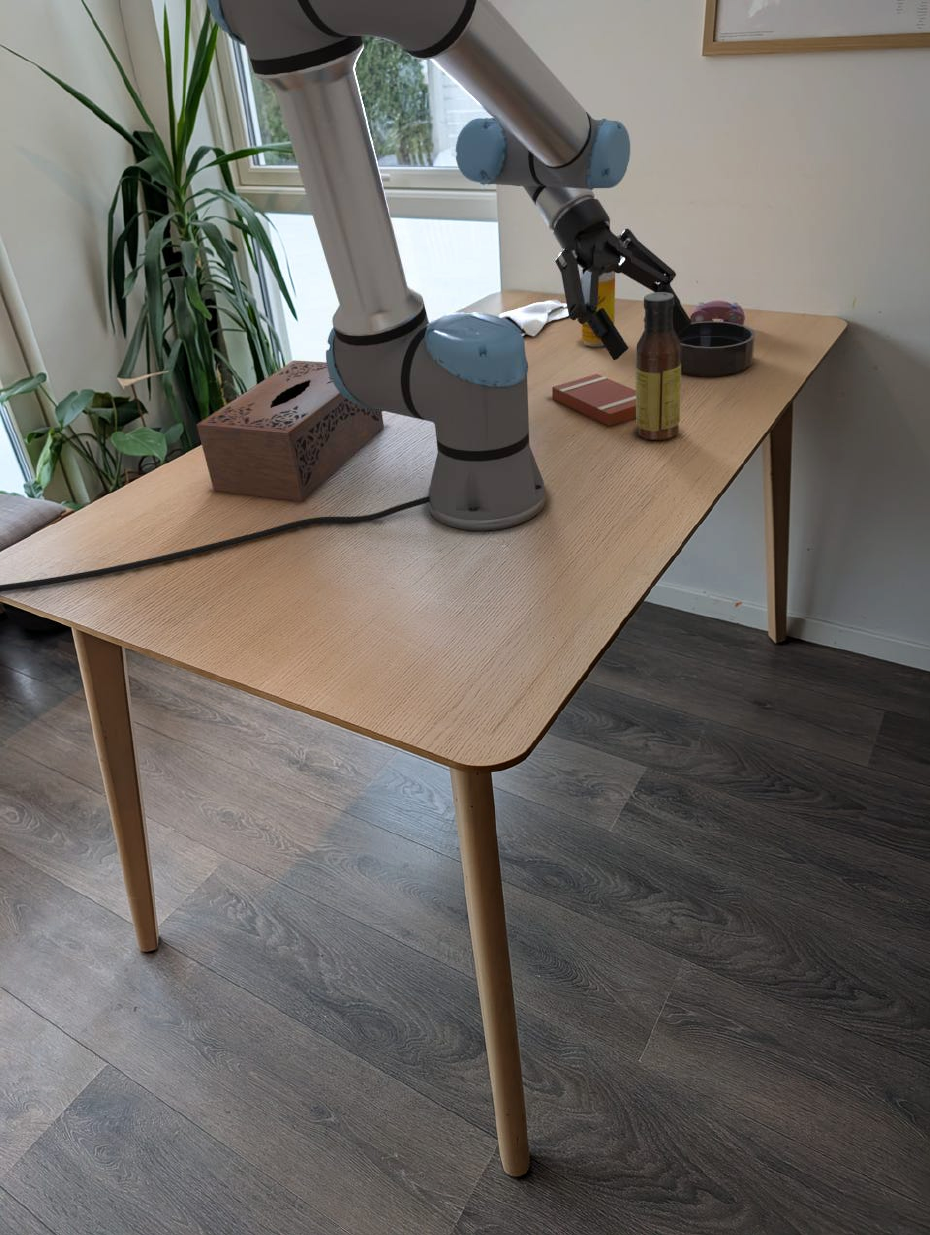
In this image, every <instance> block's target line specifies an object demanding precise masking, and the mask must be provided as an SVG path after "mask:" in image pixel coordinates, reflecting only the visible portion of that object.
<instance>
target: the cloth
mask: <svg viewBox="0 0 930 1235" xmlns="http://www.w3.org/2000/svg"><path fill="white" fill-rule="evenodd" d="M497 317H500V318H503V319H505V320H507V321H509V322H511V323H512V324H514V325H515V326H516V327H517V328H518V329H519V331H520V332H521V334H522V337H523V338H524V336H526V335H528V336H530V337H533V338H535V336H537V334H538V333H540V332H541V330H542V329H543V328H544V326H545V325H546V324H548V323H551V322H552V321H557V320H558V321H559V320H561V319H565V318H567V317H569V314H568V308H567V303H566V302H561V301H560V300H558V299H548V300H545V301H542V302H534V303H531V304H528V305H525V306H523V307H519V308H517V309H513V310H508V311H504V312H502V313H499V315H497Z"/></svg>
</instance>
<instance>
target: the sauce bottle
mask: <svg viewBox="0 0 930 1235" xmlns="http://www.w3.org/2000/svg"><path fill="white" fill-rule="evenodd" d="M674 304H675V303H674V295H673V294H671V293H666V292H656V293H655V292H651V293H648V294H645V295H644V296H643V309H644V317H645V323H644V326H643V327H644V328H643V329H644V330H643V332H642V334H641V335H640V338H639V340H638V341H637V343H636V361H635V362H636V363H635V390H636V418H635V424H636V432H637V434H638V435H639V437H641V438H643V439H645V440H654V441H666V440H669V439H673V438H674V437H675V436H676V435H678V434H679V429H680V426H679V425H680V421H681V392H682V391H681V387H682V385H681V384H682V373H681V361H680V351H681V343H680V340H679V339H678V337H677V335H676V333H675V331H674V328H673V322H672V320H673V317H672V316H673V306H674Z"/></svg>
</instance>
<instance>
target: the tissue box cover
mask: <svg viewBox="0 0 930 1235" xmlns="http://www.w3.org/2000/svg"><path fill="white" fill-rule="evenodd" d="M196 428H197V431H198V436H199V440H200V443H201V446H202V450H203V455H204V459H205V462H206V466H207V469H208V470H207V471H208V473H209V478H210V482H211V485H212V489H213V492H220V493H228V494H237V495H244V496H254V497H261V498H267V499H268V498H269V499H277V500H287V501H294V502H301V503H302V502H303V501H305V500H306V499H307V498H308V497H309V496H310V495H311V494H312V493H313V492H314V491H315V490H316V489H318V488H319V487H320V486H322V484H323V483H324V482H325V481H327V480H328V479H329V478H331V476H332V475H333V474H334V473H336V472H337V471H338V470H339V469H340V468H341V467H342V466H343V465H344V464H345V463H346V462H347V461H348V460H350V459H351V458H352V457H353V456H354V455H355V454H356V453H358V452H359V450H361V449H362V448H363V447H364V446H365V445H367V444H368V443H369V442H370V440H372V439H373V438H374V437H375V436H376V435H378V433H379V432H381V431H382V430H383V429H384V428H385V425H384V417H383V411H374V410H373V409H368V408H365V407H363V406H361V405H358V404H356V403H353V402H351V401H349V400H348V399H346V398H345V397H344V396H343V395H342V394H341V393H340V392H339V391H338V390H337V388H336V387H335V385H334V384H333V382H332V380H331V378H330V375H329V372H328V368H327V362H326V361H313V360H312V361H310V360H309V361H308V360H291V361H290V362H289V363H286V364H285V365H284V366H283V367H281V368H280V369H278V370H276V371H275V372H274V373H272V374H270V375H269V376H268V377H266V378H264V379H263V380H262V381H260V382H259V383H257V384H255V385H254V386H252V387H251V388H249V389H248V390H246V391H245V392H244V393H241V394H240V395H239V396H237V397H236V398H234V399H233V400H230V402H228V403H227V404H225V405H224V406H222V407H220V408H219V409H218V410H216V411H215V412H213V413H212V414H210V415H209V416H207V417H206V418H204V419H202V420H201V421H199V422H198V423H196Z"/></svg>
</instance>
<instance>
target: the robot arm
mask: <svg viewBox="0 0 930 1235" xmlns="http://www.w3.org/2000/svg"><path fill="white" fill-rule="evenodd" d="M206 5H207V7H208V9H209V12H210V14H211V16H212V17H213V19H214V21H215V23H216V24H217V26H218V27H219V28H220V29H221V31H223V32H225V33H226V34H227V35H228V37H229V38H230V39H231V40H233V41H235V42H237V43H239V45H242V46H244V47H245V49H246V52H247V55H248V58H249V61H250V65H251V67H252V70H253V74H254V77H256V78H257V79H259V80H261V81H262V82H264V83H266V84H267V85H268V86H270V87H271V88H272V89H273V90H274V93H275V96H276V99H277V103H278V105H279V106H278V107H279V109H280V112H281V115H282V118H283V123H284V125H285V128H286V132H287V135H288V138H289V142H290V145H291V148H292V152H293V156H294V158H295V161H296V165H297V169H298V172H299V175H300V179H301V182H302V185H303V188H304V191H305V192H304V193H305V195H306V198H307V202H308V205H309V208H310V211H311V215H312V218H313V222H314V225H315V228H316V232H317V235H318V238H319V242H320V244H321V248H322V251H323V254H324V258H325V262H326V265H327V267H328V271H329V274H330V278H331V281H332V285H333V287H334V291H335V294H336V297H337V301H338V307H337V309H336V311H335V312H334V314H333V316H332V320H331V321H332V328H331V330H330V332H329V335H328V338H327V344H328V345H329V348H328V349H327V350H325V362H327V368H328V372H329V375H330V378H331V380H332V382H333V384H334V385H335V387H336V388H337V390H338V391H339V392H340V393H341V394H342V395H343V396H344V397H345V398H346V399H348V400H349V401H351V402H353V403H356V404H358V405H361V406H363V407H365V408H368V409H373V410H374V411H382V412H387V413H391V414H395V415H399V416H404V417H409V418H413V419H417V420H422V421H426V422H430V423H433V424H434V429H435V438H436V448H437V453H436V458H435V461H434V467H433V469H432V470H433V471H432V475H431V479H430V484H429V487H428V494H427V495H426V496H424V497H420V498H416V499H414V500H411V501H407V502H404V503H401V504H398V505H395V506H392V507H389V508H386V509H384V510H381V511H378V512H375V513H370V514H363V515H355V516H318V517H312V518H305V519H301V520H296V521H292V522H288V523H284V524H282V525H278V526H274V527H271V528H267V529H263V530H259V531H256V532H252V533H248V534H244V535H241V536H237V537H233V538H229V539H224V540H221V541H217V542H213V543H209V544H204V545H201V546H197V547H193V548H188V549H185V550H180V551H176V552H171V553H166V554H164V555H159V556H155V557H151V558H146V559H142V560H136V561H132V562H127V563H122V564H119V565H113V566H109V567H103V568H99V569H94V570H88V571H83V572H77V573H70V574H66V575H60V576H53V577H47V578H40V579H34V580H28V581H19V582H13V583H5V584H0V593H3V592H10V591H16V590H25V589H32V588H38V587H45V586H51V585H57V584H63V583H68V582H69V583H70V582H74V581H75V582H76V581H81V580H85V579H91V578H97V577H101V576H107V575H111V574H117V573H120V572H121V573H122V572H125V571H131V570H134V569H139V568H144V567H149V566H153V565H157V564H162V563H166V562H170V561H173V560H174V561H175V560H178V559H183V558H186V557H190V556H195V555H199V554H202V553H206V552H211V551H214V550H219V549H222V548H223V549H224V548H227V547H231V546H234V545H238V544H242V543H247V542H250V541H254V540H257V539H261V538H266V537H269V536H272V535H276V534H279V533H283V532H286V531H289V530H293V529H298V528H302V527H306V526H307V527H308V526H313V525H318V524H319V525H320V524H321V525H322V524H357V523H366V522H371V521H372V522H373V521H376V520H379V519H382V518H385V517H388V516H391V515H393V514H396V513H399V512H402V511H405V510H408V509H412V508H415V507H419V506H421V505H425V504H428V507H429V512H430V513H431V516H433V518H434V519H436V520H437V521H438V522H440V523H442V524H444V525H446V526H448V527H452V528H456V529H459V530H467V531H494V530H501V529H506V528H510V527H515V526H518V525H520V524H523V523H525V522H527V521H529V520H531V519H532V518H534V517H536V516H537V515H538V514H539V513H541V511H542V510H543V508H544V507H545V505H546V487H545V482H544V479H543V476H542V474H541V471H540V469H539V465H538V464H537V461H536V459H535V455H534V454H533V450H532V448H531V445H530V422H529V421H530V420H529V394H528V372H529V363H528V360H527V353H526V345H525V344H526V343H525V339H524V336H523V337H522V334H521V332H520V331H519V329H518V328H517V327H516V326H515V325H514V324H512V323H511V322H509V321H507V320H505V319H503V318H500V317H498V315H497V316H496V315H494V314H489V313H484V312H477V311H476V312H475V311H473V312H471V313H466V312H463V311H461V312H452V313H446V314H443V315H439V316H438V317H435V318H434V319H432V320H431V321H429V318H428V313H427V310H426V306H425V301H424V298H423V296H422V294H421V293H419V292H418V291H416V290H415V289H413V288H411V287H409V286H408V283H407V279H406V275H405V274H406V273H405V271H404V267H403V263H402V259H401V254H400V249H399V247H398V242H397V238H396V234H395V230H394V226H393V223H392V218H391V212H390V209H389V205H388V201H387V196H386V193H385V189H384V185H383V181H382V176H381V171H380V168H379V164H378V159H377V156H376V152H375V149H374V144H373V139H372V135H371V132H370V128H369V123H368V118H367V116H366V110H365V106H364V103H363V99H362V95H361V90H360V86H359V82H358V78H357V75H356V70H355V68H356V63H357V61H358V60H359V57H360V55H361V53H362V52H363V50H364V47H365V44H364V39H363V36H364V37H372V38H377V39H383V40H386V41H389V42H391V43H394V44H395V45H397V46H399V47H400V48H401V49H402V50H403V51H404V52H405V53H406V54H408V55H409V56H410V57H412V58H413V59H416V60H420V61H430V60H431V61H432V62H433V63H434V65H436V66H437V67H438V68H439V69H440V70H441V71H442V72H443V73H445V75H447V77H449V78H450V79H451V80H452V81H453V82H454V83H455V84H457V85H458V87H460V88H461V89H462V91H464V92H465V93H466V94H467V95H468V96H469V97H470V98H472V100H474V102H476V104H477V105H479V106H480V107H481V108H482V109H483V110H484V111H485V112H486V113H488V115H490V116H491V117H485V118H481V117H478V118H474V119H471V120H470V121H468V122H467V123H466V124H465V125H464V126H463V127H462V129H461V130H460V131H459V133H458V136H457V139H456V142H455V143H456V144H455V160H456V164H457V166H458V169H459V171H460V172H461V173H460V174H462V175H463V177H464V178H466V179H467V180H469V181H470V182H473V183H477V184H480V185H483V186H485V185H499V186H514V187H523V188H524V190H525V192H526V193H527V195H528V196H529V198H530V199H531V201H532V202H533V204H534V205H535V208H536V209H537V211H538V212H539V214H540V215H541V217H542V219H543V221H544V222H545V224H546V226H547V227H548V229H549V230H550V231H553V237H554V238H555V240H556V241H557V242H558V244H559V245H560V248H561V249H562V250H561V252H560V253H559V254H558V255H557V256H556V258H555V260H554V261H555V264H556V266H557V268H558V270H559V272H560V275H561V280H562V286H563V291H564V292H563V293H564V296H565V297H564V298H565V303H567V307H566V308H568V314H569V316H568V317H569V319H570V320H571V321H576V320H577V322H578V323H579V324H580V325H581V324H584V323H585V322H587V323H588V325H589V326H590V328H591V329H592V331H593V333H594V334H595V336H596V337H597V338H598V339H601V341H602V343H603V344H604V346H603V347H605V349H606V350H607V352H608V354H609V355H610V357H611V359H612V361H617V360H618V359H620V358H621V357H622V356H623V355H624V353H626V352H627V351H628V349H629V347H628V345H627V343H626V342H625V340H624V339H623V337H622V335H621V333H620V332H619V330H618V329H617V327H616V326H615V323H614V324H613V322H612V321H611V319H610V318H609V316H608V314H607V313H606V311H605V310H604V308H601V309H599V310H598V311H596V310H597V305H598V285H599V276H601V275H602V274H604V273H610V272H613V271H614V272H615V274H622V275H624V276H626V277H628V278H630V279H632V280H633V281H635V282H637V283H638V284H640V285H642V286H643V287H645V288H646V289H648V290H650V291H651V292H652V293H656V292H666V293H671V294H673V295H674V303H675V304H674V306H673V316H672V317H673V320H672V322H673V328H674V331H675V332H676V334H680V333H681V332H682V331H683V330H684V329H685V328H686V327H688V326H689V325H690V324H691V323H692V321H691V320H690V316H689V315H688V314H687V312H686V310H685V309H684V308H683V306H682V303H681V300H680V298H679V297H678V295H677V293H676V292H675V290H674V289H673V287H672V285H671V283H672V282H673V281H674V279H675V278H676V277H677V274H676V271H675V270H674V269H672V268H671V267H670V266H669V265H668V264H667V263H666V262H664V261H663V260H662V259H660V257H658V255H656V254H655V253H653V252H652V251H651V250H650V249H649V248H648V247H646V245H644V244H643V243H642V242H641V241H639V240H638V238H637V237H636V236H635V234H634V233H633V232H632V230H631V229H630V228H625V229H624V230H623V231H622V233H621V234H619V235H616V234H615V233H613V232H612V230H611V227H610V226H611V218H610V216H609V214H608V212H607V211H606V210H605V208H604V206H603V205H602V203H601V202H600V200H599V199H597V198H595V196H596V195H595V193H594V191H593V190H594V189H611V188H615V187H616V186H618V185H619V184H620V183H621V182H622V180H623V178H624V177H625V175H626V173H627V170H628V166H629V162H630V158H631V140H630V135H629V132H628V129H627V128H626V126H625V125H624V124H623V123H622V122H620V121H618V120H608V119H607V118H602V119H598V120H597V119H594V118H593V117H592V116H591V114H589V112H588V111H586V109H585V108H584V107H583V106H582V105H581V103H580V102H579V101H578V100H577V99H576V98H575V97H574V96H573V94H572V93H571V92H570V91H569V90H568V88H567V87H566V86H565V85H564V84H563V83H562V81H561V80H559V78H558V77H557V76H556V75H555V74H554V72H553V71H551V69H550V68H549V67H548V66H547V65H546V63H545V62H544V61H543V60H542V59H541V58H540V57H539V55H537V53H536V52H535V51H534V50H533V48H532V47H531V46H530V45H529V43H527V42H526V40H525V39H524V38H523V37H522V36H521V35H520V34H519V33H518V32H517V30H516V29H515V28H514V27H513V26H512V25H511V23H509V21H508V20H507V18H505V17H504V16H503V15H502V13H501V12H500V10H498V8H496V6H495V5H494V4H493V3H492V2H491V0H206ZM621 257H622V258H621ZM579 267H580V270H579ZM581 281H582V284H581Z"/></svg>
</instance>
